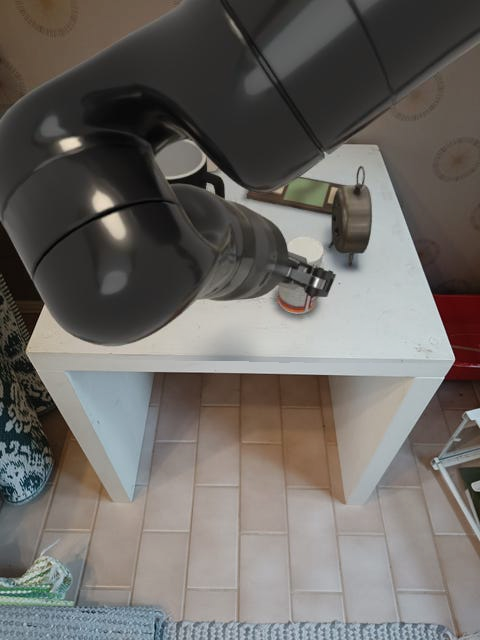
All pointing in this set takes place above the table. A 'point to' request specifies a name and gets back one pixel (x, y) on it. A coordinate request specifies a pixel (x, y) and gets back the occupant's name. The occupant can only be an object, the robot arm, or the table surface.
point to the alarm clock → (351, 218)
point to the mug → (188, 166)
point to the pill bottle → (313, 253)
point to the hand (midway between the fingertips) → (278, 263)
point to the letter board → (302, 195)
